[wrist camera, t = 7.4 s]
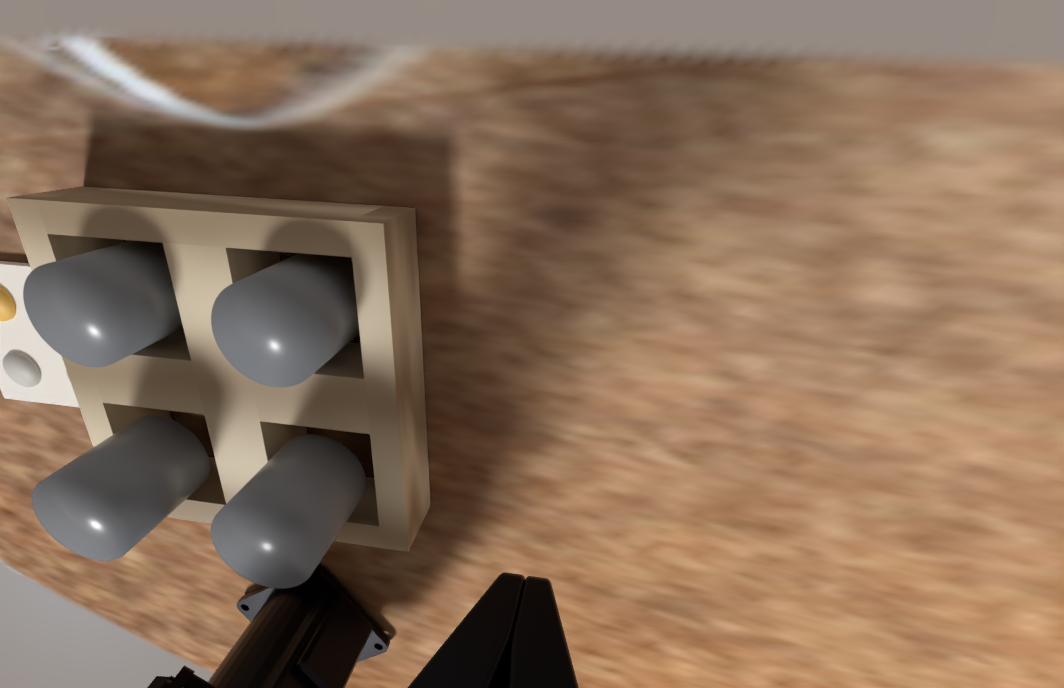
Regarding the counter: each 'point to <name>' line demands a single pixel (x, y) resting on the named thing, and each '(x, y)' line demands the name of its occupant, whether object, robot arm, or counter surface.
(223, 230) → the button board
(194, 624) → the counter surface
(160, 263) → the button
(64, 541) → the button
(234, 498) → the button
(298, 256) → the button
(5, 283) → the pattern tile
